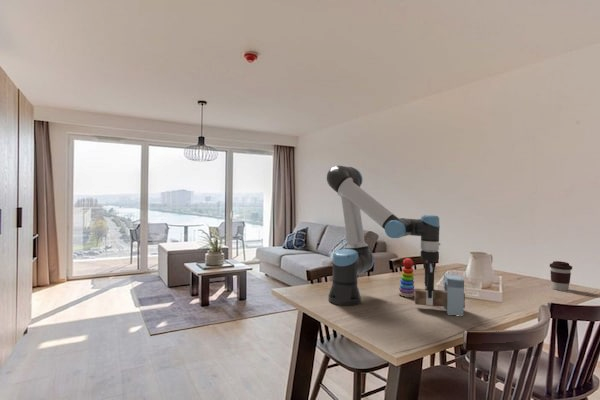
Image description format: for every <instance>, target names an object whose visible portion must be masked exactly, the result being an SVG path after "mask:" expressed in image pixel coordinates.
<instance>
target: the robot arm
mask: <svg viewBox="0 0 600 400" xmlns="http://www.w3.org/2000/svg"><path fill="white" fill-rule="evenodd" d="M326 181H327V184H328V186H329V187H330V188H331V189H332V190H333V191H335V192H336V193H337V195H338V196H339V197H340V198H341V199H340V200H341V205H342V206H341V207H342V212H343V220H344V227H345V233H346V234H345V235H346V242H347V244H346V246H345V247H344V249H339V250H336V251H334V253H333V255H332V282H331V283H332V285H331V286H330V289H329V292H328V297H327V300H328V302H330V303H331V302H332V304H333V305H337V304H339V305H338V306H346V305H349V306H355V305H354V304H357V305H359V304H360V303H361V302H362V297H361V292H360V290H359V286H358V275H361V274H364V273H367V272H368V271H369V270H371V269H372V268H373V266H374V263H375V258H374V254H373V253H372V252H371V251H370V248H369V244H367V242H365V235H364V234H365V233H364V228H363V220H362V214H361V213H362V212H363V213H364V214H365V215H367V216H368V217H370V219H372V220H373V221H374V222H375V223H376V224H377V225H379V226H380V227H381V228H382V229H383V230H384V232H385V234H386V236H387V237H389V238H391V239H400V238H402V237H407V236H413V237H417V236H418V237H420V249H421V250H420V259H421V260H425V261H424V265H423V266H424V282H423V283H424V289H425V290H426V305H425V306H428V305H432V307H434V306H433V290H435V271H436V268H435V267H436V265H435V263H434V261H438V260H439V258H440V252H439V250H440V247H439V246H441V243H440V227H441V225H440V217H439V216H438V215H433V214H430V215H429V214H428V215H427V214H424V215H423V214H422V215H421V218H417V219H416V218H405V217H402V218H401V217H400V218H399V217H397V215H395V214H394V213H393V212H391V210H389V209H388V208H387V207H385V206H384V205H382V203H380V202H379V201H377V200H376V199H375V198H373V196H371V195H370V194H369V193H368V192H367V191H365V190H364V189H362V188H361V185H362V184H363V175H362V173H361V171H359V170H358V169H357V168H355V167H353V166H343V165H335V166H332V167H331V168H330V169H329V170H328V171H327V174H326ZM361 211H362V212H361ZM358 303H359V304H358Z"/></svg>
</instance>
